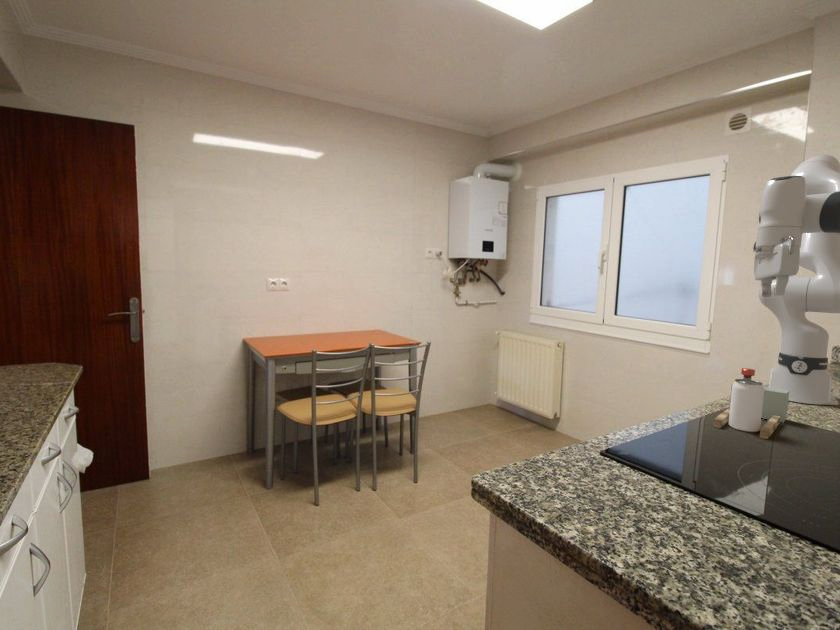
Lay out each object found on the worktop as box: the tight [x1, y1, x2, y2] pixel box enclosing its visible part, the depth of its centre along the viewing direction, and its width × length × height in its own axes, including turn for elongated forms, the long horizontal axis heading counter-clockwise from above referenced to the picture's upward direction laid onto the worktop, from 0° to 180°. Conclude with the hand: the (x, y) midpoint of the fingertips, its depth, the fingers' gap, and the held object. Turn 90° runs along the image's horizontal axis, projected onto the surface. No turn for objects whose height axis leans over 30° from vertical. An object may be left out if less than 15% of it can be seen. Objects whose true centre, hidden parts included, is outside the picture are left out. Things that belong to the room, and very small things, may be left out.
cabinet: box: [729, 382, 789, 424], centre depth 122 cm, size 5×12×8 cm, turn 43°
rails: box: [712, 406, 781, 440], centre depth 114 cm, size 17×11×2 cm, turn 133°
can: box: [728, 378, 764, 433], centre depth 111 cm, size 6×6×12 cm
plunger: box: [740, 367, 756, 380], centre depth 124 cm, size 3×3×8 cm
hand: (772, 296), depth 112 cm, fingers open, 8 cm apart
